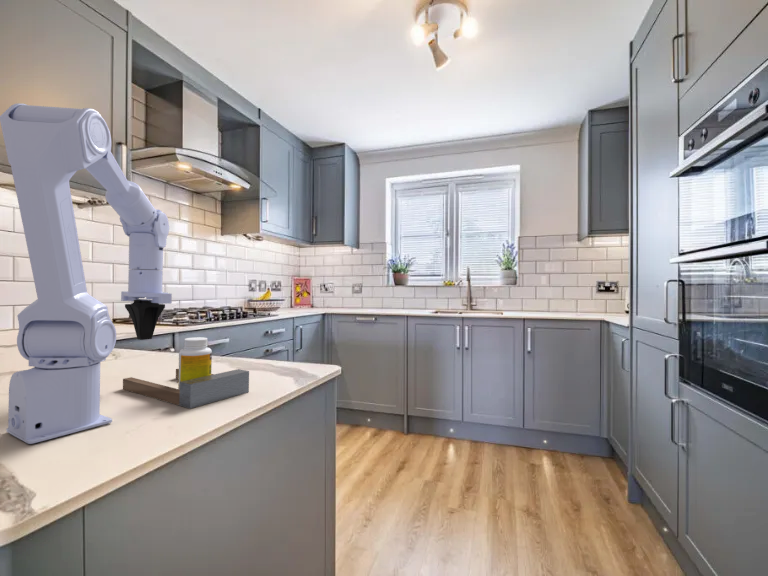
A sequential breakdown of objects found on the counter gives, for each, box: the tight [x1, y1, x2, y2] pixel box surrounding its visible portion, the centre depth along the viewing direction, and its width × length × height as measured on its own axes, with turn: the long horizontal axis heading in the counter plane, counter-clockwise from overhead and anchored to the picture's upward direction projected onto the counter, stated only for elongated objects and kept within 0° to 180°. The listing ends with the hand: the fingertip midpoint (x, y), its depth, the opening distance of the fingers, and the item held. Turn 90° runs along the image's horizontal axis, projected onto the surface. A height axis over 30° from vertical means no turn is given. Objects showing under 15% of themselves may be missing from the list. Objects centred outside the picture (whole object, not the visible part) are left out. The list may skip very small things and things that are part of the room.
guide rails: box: [122, 368, 215, 406], centre depth 74 cm, size 12×18×2 cm, turn 60°
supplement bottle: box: [177, 336, 213, 390], centre depth 72 cm, size 6×6×10 cm
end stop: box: [178, 368, 250, 409], centre depth 69 cm, size 12×3×4 cm, turn 150°
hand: (144, 339), depth 76 cm, fingers closed
